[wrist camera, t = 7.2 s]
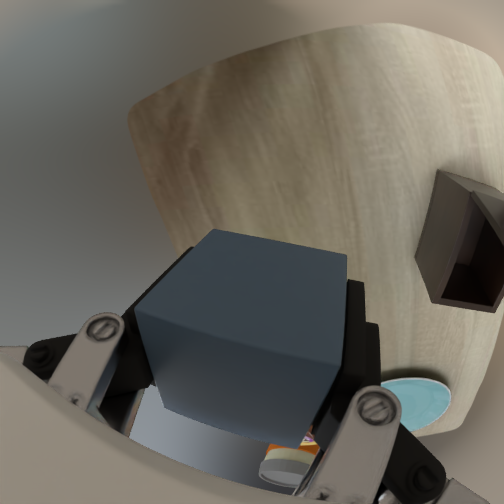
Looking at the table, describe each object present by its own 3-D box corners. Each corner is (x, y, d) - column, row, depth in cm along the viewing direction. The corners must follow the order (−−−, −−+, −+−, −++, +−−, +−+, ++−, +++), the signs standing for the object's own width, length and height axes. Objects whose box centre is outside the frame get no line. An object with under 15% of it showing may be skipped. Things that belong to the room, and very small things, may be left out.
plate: (377, 435, 52) (376, 445, 49) (321, 396, 49) (318, 408, 47) (462, 398, 40) (464, 409, 38) (423, 347, 38) (425, 360, 35)
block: (213, 227, 10) (132, 307, 6) (347, 254, 9) (341, 365, 5) (214, 325, 12) (163, 408, 8) (319, 351, 11) (297, 450, 7)
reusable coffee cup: (272, 408, 55) (252, 466, 43) (329, 412, 51) (317, 474, 38) (278, 432, 61) (262, 483, 48) (328, 437, 56) (317, 490, 44)
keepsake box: (469, 268, 30) (494, 313, 22) (414, 257, 32) (431, 303, 24) (495, 188, 24) (535, 215, 16) (436, 168, 27) (469, 191, 18)
